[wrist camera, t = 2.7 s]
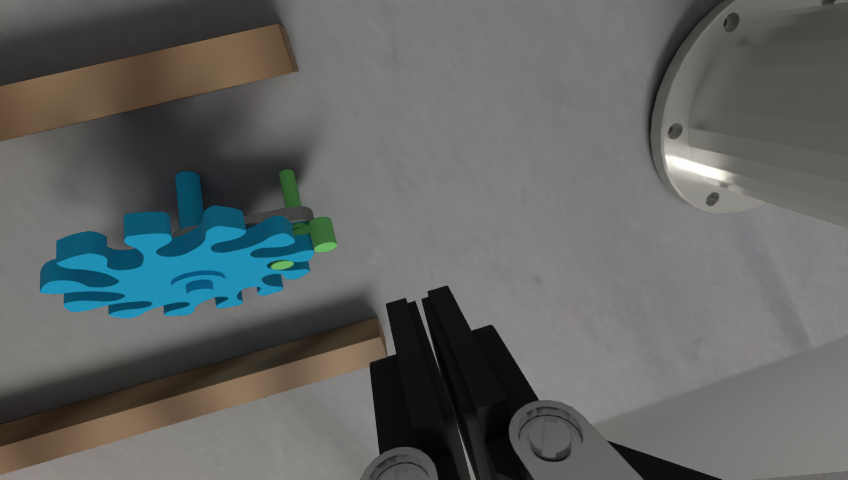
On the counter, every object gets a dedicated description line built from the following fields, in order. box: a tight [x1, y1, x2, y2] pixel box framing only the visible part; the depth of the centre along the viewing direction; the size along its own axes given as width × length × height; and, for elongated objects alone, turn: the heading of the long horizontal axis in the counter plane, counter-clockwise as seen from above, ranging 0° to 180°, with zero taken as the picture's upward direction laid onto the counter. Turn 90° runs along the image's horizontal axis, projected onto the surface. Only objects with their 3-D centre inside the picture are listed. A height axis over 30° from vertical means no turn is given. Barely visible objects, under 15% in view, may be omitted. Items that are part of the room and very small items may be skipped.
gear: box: [40, 169, 337, 318], centre depth 18 cm, size 11×6×10 cm
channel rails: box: [0, 24, 388, 475], centre depth 20 cm, size 23×18×2 cm
